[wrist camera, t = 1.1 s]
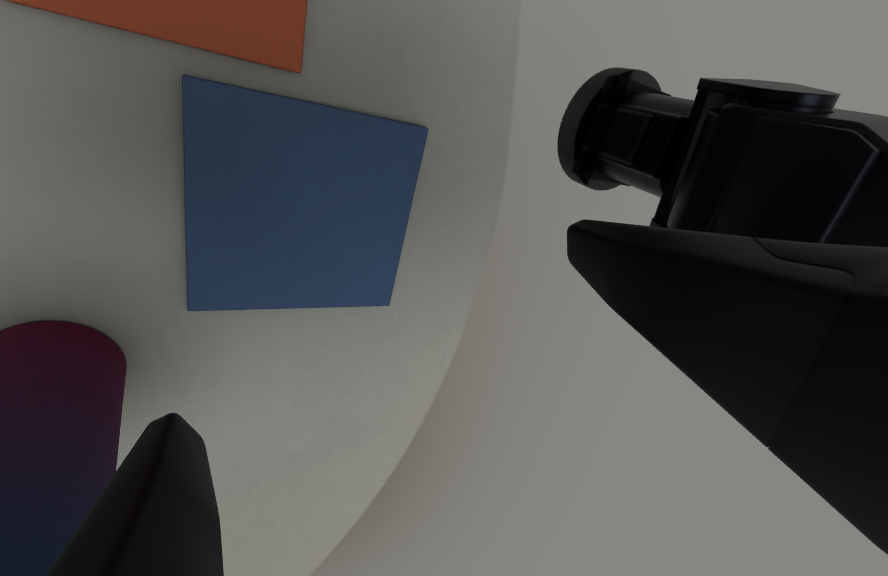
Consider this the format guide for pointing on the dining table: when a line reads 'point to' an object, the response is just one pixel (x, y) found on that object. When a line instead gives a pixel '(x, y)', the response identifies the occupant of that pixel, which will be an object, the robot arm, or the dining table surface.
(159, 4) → the terracotta mat
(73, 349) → the cup
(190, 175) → the blue mat
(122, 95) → the dining table surface
